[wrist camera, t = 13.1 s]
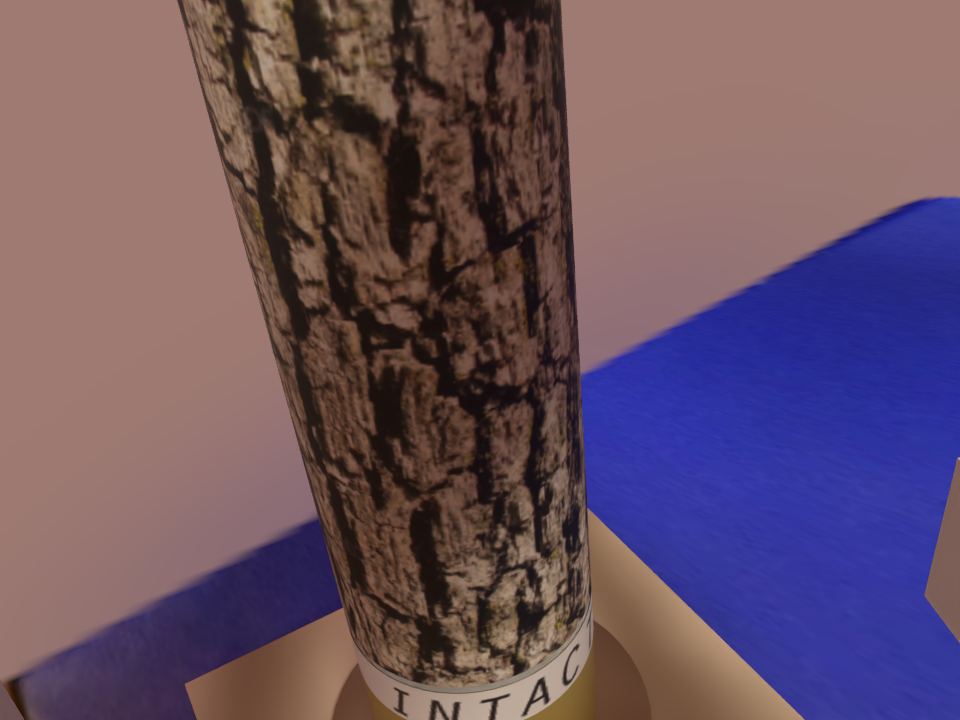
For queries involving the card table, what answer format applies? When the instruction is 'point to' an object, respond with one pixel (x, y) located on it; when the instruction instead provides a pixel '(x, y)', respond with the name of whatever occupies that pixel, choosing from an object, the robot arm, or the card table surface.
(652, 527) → the card table surface
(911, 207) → the card table surface
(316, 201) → the paper tube
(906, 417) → the card table surface
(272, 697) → the seat board
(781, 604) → the card table surface
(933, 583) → the robot arm
